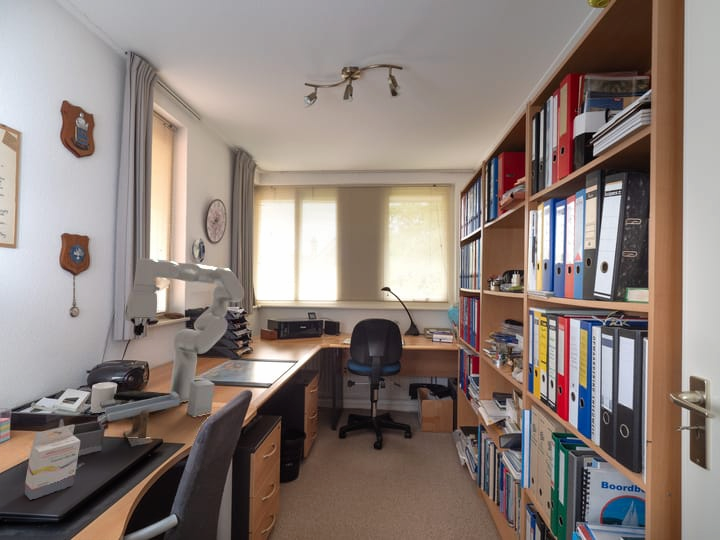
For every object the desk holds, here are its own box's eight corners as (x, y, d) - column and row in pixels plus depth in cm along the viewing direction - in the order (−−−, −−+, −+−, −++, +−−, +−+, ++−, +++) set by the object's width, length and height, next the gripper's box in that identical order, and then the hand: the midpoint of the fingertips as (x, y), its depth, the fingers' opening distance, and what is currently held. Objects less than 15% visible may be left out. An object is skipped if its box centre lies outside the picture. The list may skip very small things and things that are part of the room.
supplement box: (211, 414, 138) (215, 383, 139) (193, 418, 133) (197, 386, 134) (204, 408, 143) (208, 379, 144) (186, 412, 138) (190, 381, 139)
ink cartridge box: (29, 502, 79) (39, 439, 80) (22, 494, 81) (32, 433, 82) (74, 486, 86) (83, 428, 87) (66, 478, 89) (75, 422, 89)
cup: (97, 440, 109) (101, 413, 109) (101, 451, 103) (105, 421, 104) (55, 449, 102) (60, 419, 102) (57, 461, 96) (62, 429, 96)
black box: (177, 393, 146) (155, 396, 127) (172, 415, 144) (148, 422, 124) (136, 390, 145) (107, 393, 126) (130, 412, 142) (100, 418, 123)
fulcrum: (143, 429, 120) (147, 400, 120) (152, 442, 111) (156, 411, 112) (123, 433, 116) (128, 402, 116) (131, 447, 107) (136, 414, 108)
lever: (166, 393, 130) (167, 384, 130) (179, 406, 119) (180, 396, 119) (99, 407, 115) (100, 396, 115) (107, 422, 104) (107, 411, 104)
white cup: (99, 416, 126) (103, 389, 127) (83, 412, 128) (87, 386, 128) (118, 409, 134) (122, 384, 134) (102, 405, 136) (106, 381, 136)
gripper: (162, 289, 141) (156, 333, 140) (120, 287, 130) (113, 333, 129) (167, 291, 136) (161, 336, 135) (124, 288, 125) (117, 337, 124)
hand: (138, 334), depth 132 cm, fingers closed
